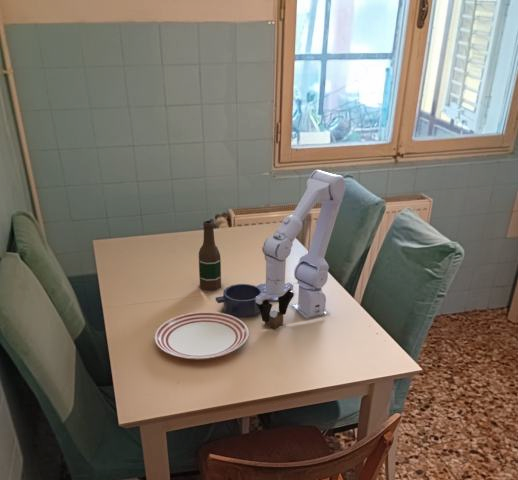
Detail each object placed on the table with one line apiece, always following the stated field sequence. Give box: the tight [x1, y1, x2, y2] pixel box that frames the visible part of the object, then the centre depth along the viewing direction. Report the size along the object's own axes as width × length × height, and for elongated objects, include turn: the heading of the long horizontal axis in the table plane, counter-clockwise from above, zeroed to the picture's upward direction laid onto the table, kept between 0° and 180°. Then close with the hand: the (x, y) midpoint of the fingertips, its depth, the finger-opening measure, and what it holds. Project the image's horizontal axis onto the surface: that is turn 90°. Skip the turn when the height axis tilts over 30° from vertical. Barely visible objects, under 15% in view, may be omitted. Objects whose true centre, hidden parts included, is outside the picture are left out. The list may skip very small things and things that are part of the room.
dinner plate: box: [154, 311, 250, 360], centre depth 167 cm, size 27×27×3 cm
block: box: [264, 309, 284, 330], centre depth 176 cm, size 4×4×4 cm
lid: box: [256, 282, 293, 302], centre depth 195 cm, size 14×14×5 cm
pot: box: [215, 283, 264, 319], centre depth 184 cm, size 13×18×6 cm
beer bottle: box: [198, 220, 222, 292], centre depth 193 cm, size 8×8×24 cm
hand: (273, 317), depth 176 cm, fingers open, 7 cm apart
